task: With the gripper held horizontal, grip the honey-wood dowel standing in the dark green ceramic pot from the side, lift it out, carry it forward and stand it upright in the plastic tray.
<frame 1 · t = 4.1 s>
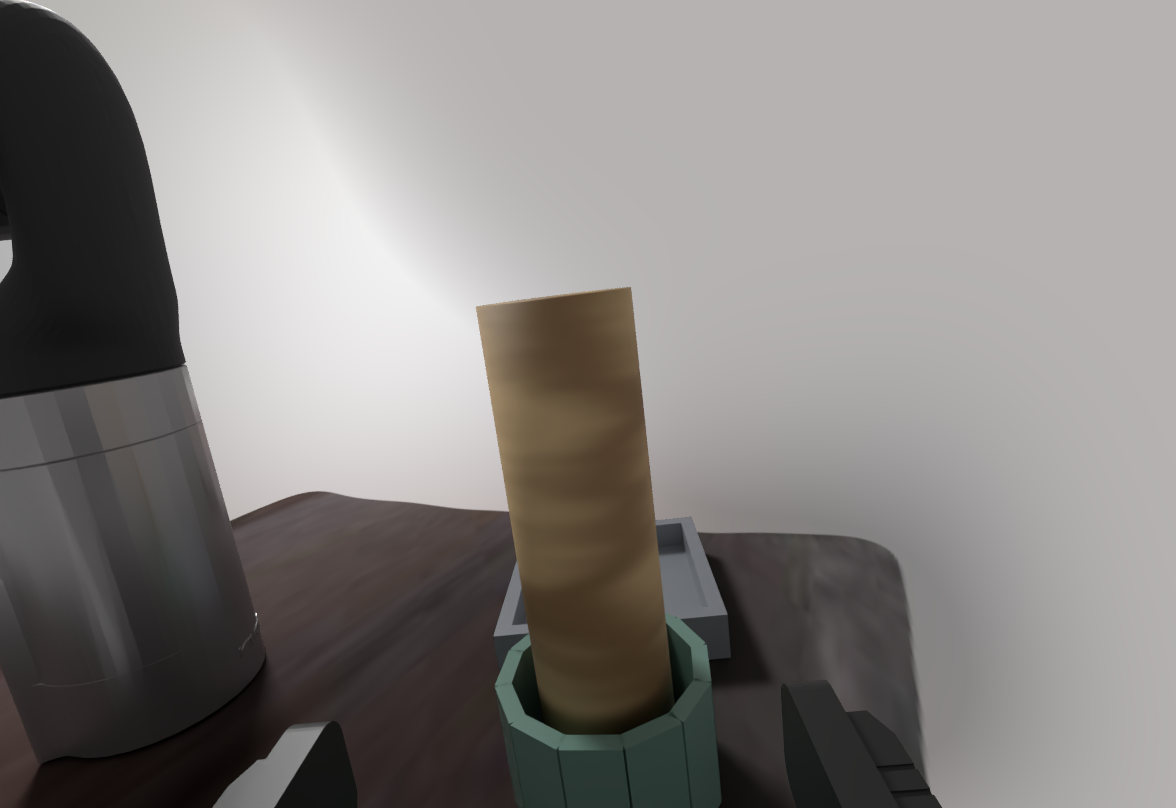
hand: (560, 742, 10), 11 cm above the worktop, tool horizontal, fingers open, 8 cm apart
wooden dowel: (615, 763, 22), point 1 cm above the worktop, touching holder pot
holder pot: (617, 775, 22), on the worktop
tray: (612, 603, 34), on the worktop
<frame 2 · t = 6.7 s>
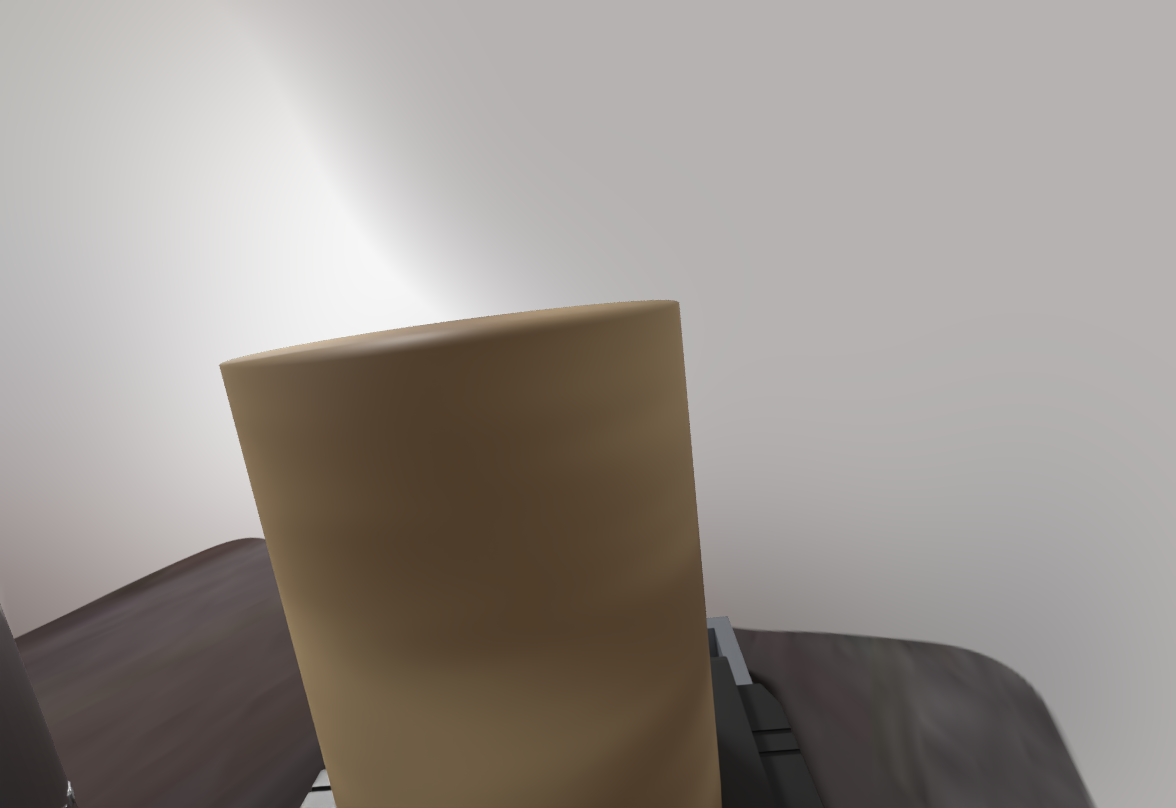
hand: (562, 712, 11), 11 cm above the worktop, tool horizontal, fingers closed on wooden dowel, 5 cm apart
tray: (616, 769, 22), on the worktop
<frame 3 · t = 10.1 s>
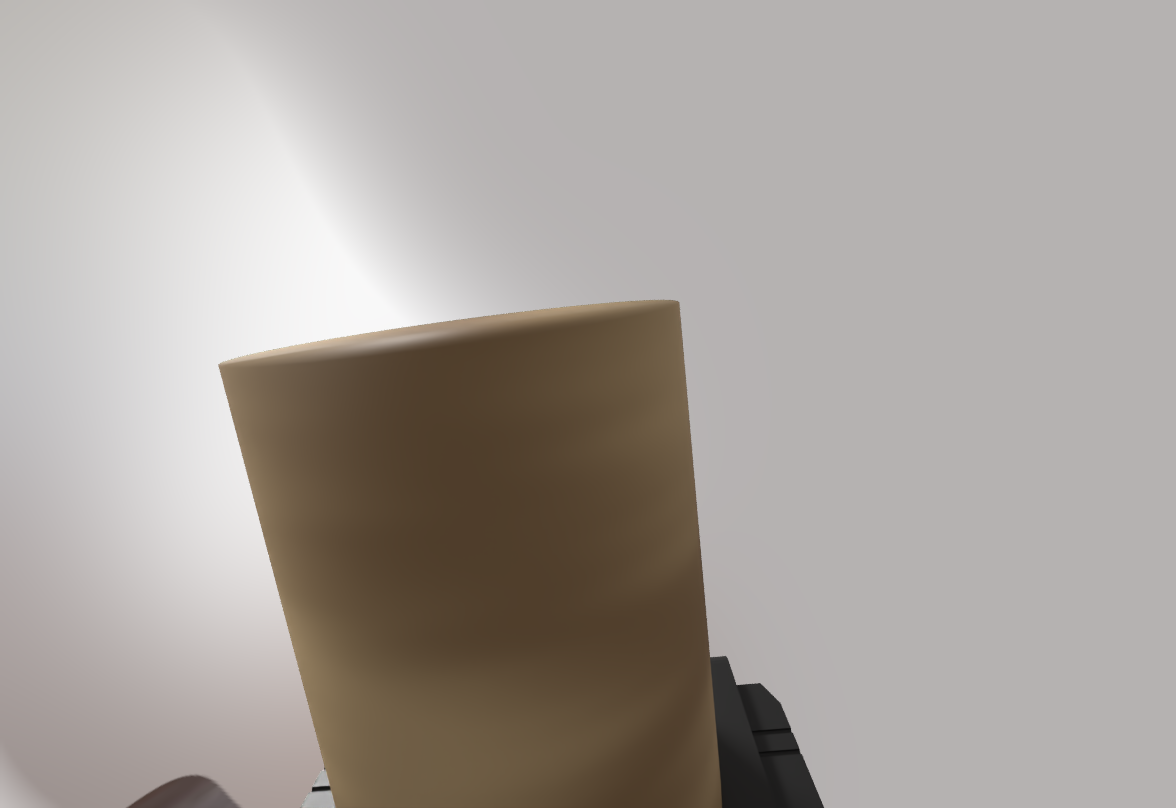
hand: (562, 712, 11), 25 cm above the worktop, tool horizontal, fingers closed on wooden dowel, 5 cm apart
when the fingers open (13 cm above the worktop, at t = 13.4 s): wooden dowel drops 1 cm, resting on tray.
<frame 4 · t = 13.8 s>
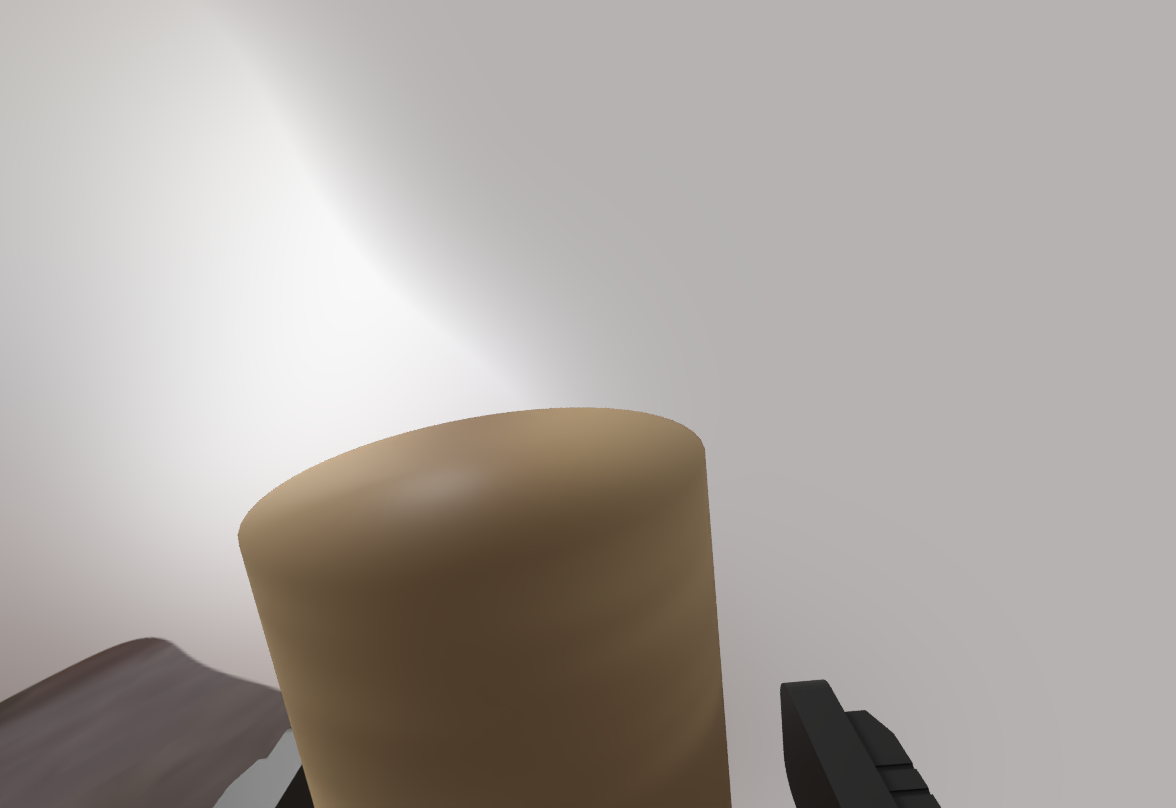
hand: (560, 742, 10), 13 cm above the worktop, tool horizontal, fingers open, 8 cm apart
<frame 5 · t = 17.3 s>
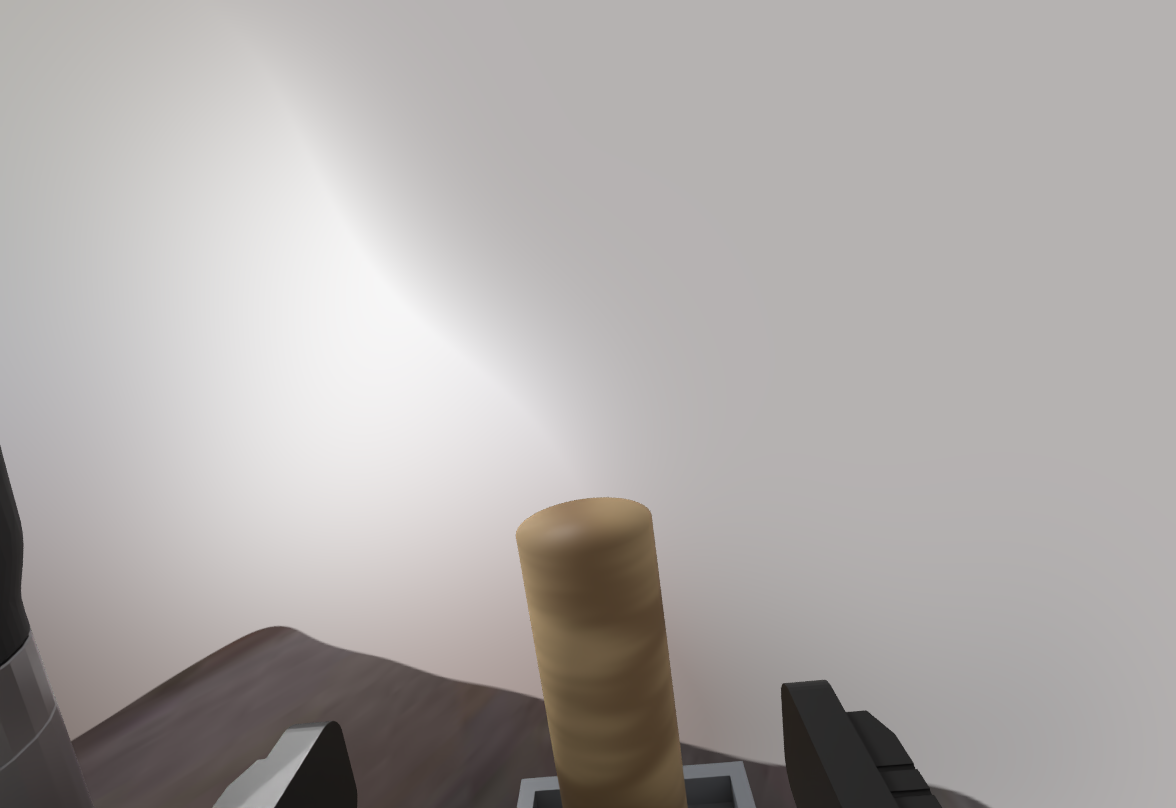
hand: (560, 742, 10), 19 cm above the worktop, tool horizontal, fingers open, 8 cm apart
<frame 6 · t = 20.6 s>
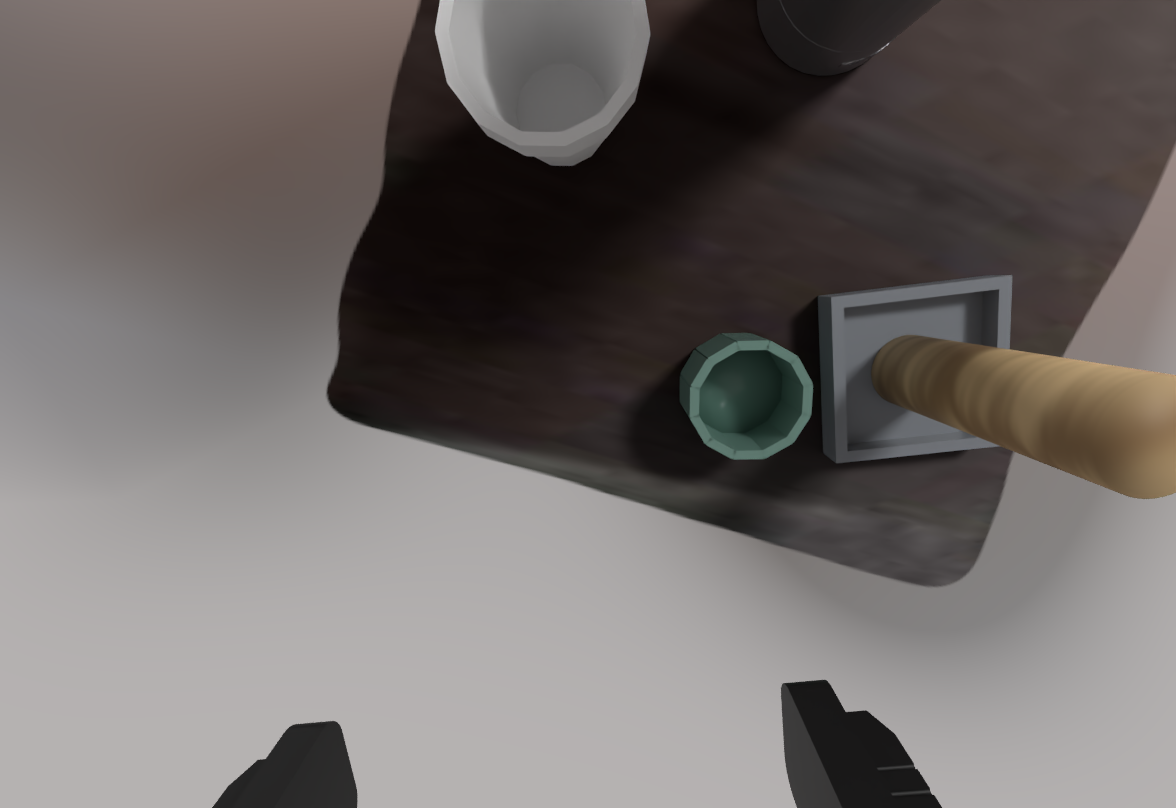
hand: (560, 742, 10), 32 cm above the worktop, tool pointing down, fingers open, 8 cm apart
wooden dowel: (907, 370, 40), point 1 cm above the worktop, touching tray
foam cup: (562, 116, 38), on the worktop
holder pot: (733, 386, 41), on the worktop
tray: (902, 367, 40), on the worktop
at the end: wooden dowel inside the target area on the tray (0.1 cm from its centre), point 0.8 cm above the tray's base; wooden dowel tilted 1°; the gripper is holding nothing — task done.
